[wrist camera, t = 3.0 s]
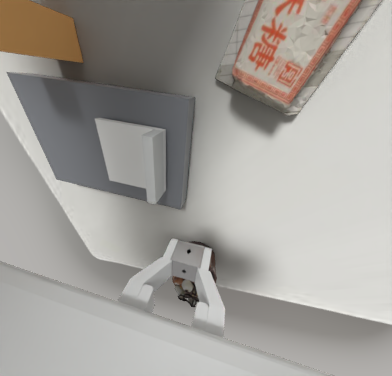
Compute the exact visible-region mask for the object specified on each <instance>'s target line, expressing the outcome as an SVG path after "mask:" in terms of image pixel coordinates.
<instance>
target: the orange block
mask: <svg viewBox="0 0 392 376" xmlns="http://www.w3.org/2000/svg"><path fill="white" fill-rule="evenodd" d="M0 51H1V52H8V53H15V54H22V55H29V56H36V57H43V58H50V59H56V60H64V61H72V62H80V63H83V59H82V54H81V50H80V46H79V42H78V37H77V33H76V29H75V25H74V20H73V18H71V17H69V16H66V15H64V14H61V13H59V12H56V11H54V10H52V9H49V8H47V7H44V6H42V5H39V4H37V3H34V2H32V1H29V0H0Z"/></svg>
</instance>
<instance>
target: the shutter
mask: <svg viewBox="0 0 392 376" xmlns="http://www.w3.org/2000/svg"><path fill="white" fill-rule="evenodd" d="M95 122H96V126H97V131H98V135H99V139H100V143H101V147H102V151H103V155H104V159H105V163H106V168H107V172H108V176H109V180H110V181H115V182H119V183H123V184H128V185H132V186H136V187H141V188H145V189H146V192H147V203H152V204H156V203H157V202H158V201H159V199H160V198H161V196H162V195H163V193H164V192H165V191H166V129H161V128H156V127H150V126H144V125H138V124H133V123H127V122H121V121H116V120H110V119H104V118H95Z"/></svg>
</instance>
